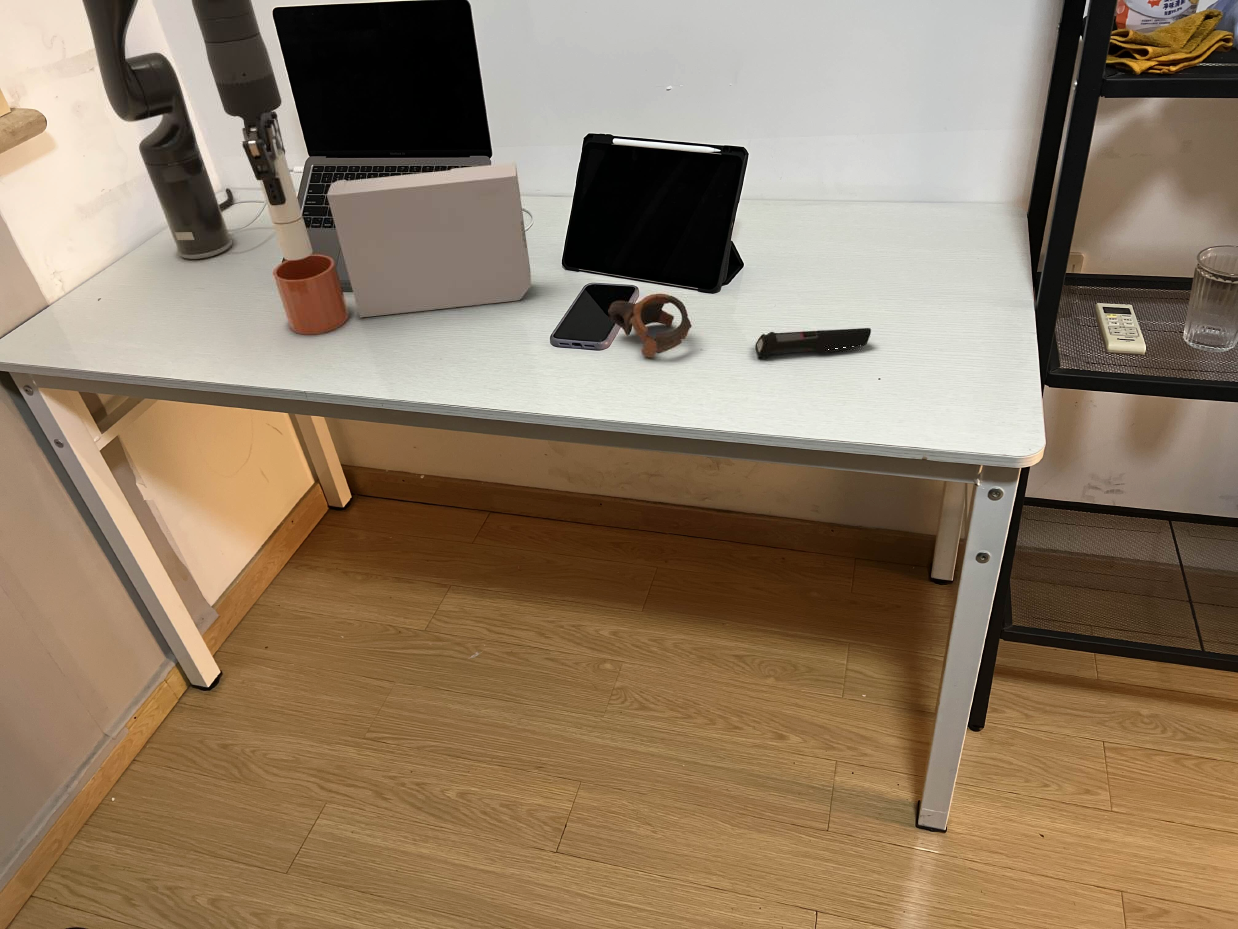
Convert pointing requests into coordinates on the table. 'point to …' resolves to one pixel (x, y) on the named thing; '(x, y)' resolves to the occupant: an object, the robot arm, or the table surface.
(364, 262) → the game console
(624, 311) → the brown ring bracket
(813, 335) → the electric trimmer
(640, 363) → the table surface
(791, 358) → the table surface
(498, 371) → the table surface
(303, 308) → the pen cup
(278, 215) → the tube
